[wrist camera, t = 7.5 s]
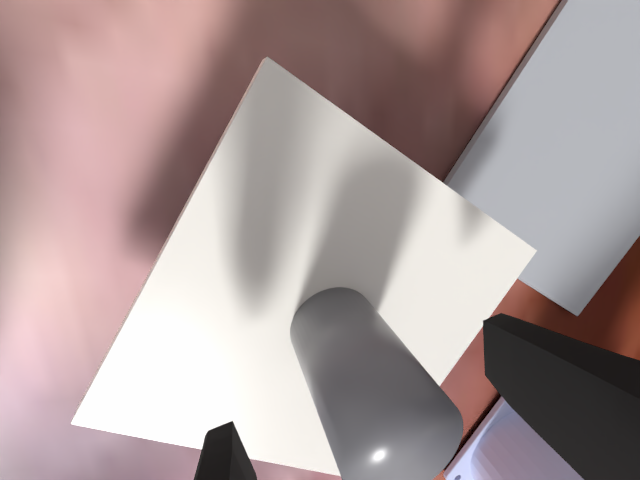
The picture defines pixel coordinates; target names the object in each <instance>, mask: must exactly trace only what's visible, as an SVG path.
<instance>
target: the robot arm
mask: <svg viewBox="0 0 640 480" xmlns="http://www.w3.org/2000/svg"><path fill="white" fill-rule="evenodd" d="M483 335H484V360H485V376H486V377H487V378H488V379H489V381H490V382H491V383H492V385H493V386H494V387H495V388H496V390H497V391H498V392H499V393H500V395H501V397H500V399H499V400H498V401H497V403H496V404H495V405H494V407H493V408H492V409H491V411H490V412H489V413H488V415H487V416H486V417H485V419H484V420H483V421H482V423H481V424H480V425H479V427H478V428H477V429H476V430H475V432H474V433H473V434H472V436H471V437H470V438H469V440H468V441H467V442H466V444H465V445H464V446H463V448H462V449H461V450H460V452H459V453H458V454H457V456H456V457H455V458H454V460H453V461H452V462H451V463H450V465H449V466H448V467H447V469H446V470H445V472H444V477H445V479H446V480H640V361H639V360H636V359H633V358H630V357H626V356H623V355H620V354H617V353H614V352H611V351H608V350H605V349H602V348H599V347H596V346H593V345H590V344H587V343H584V342H581V341H579V340H576V339H573V338H570V337H567V336H564V335H562V334H559V333H556V332H553V331H551V330H548V329H545V328H542V327H540V326H537V325H534V324H531V323H529V322H526V321H523V320H520V319H517V318H514V317H512V316H508V315H505V314H502V313H501V314H498V315H496V316H493V317H491V318H488V319H486V320H483ZM194 480H257V477H256V473H255V471H254V469H253V466H252V464H251V462H250V459H249V457H248V455H247V453H246V450H245V448H244V446H243V443H242V441H241V439H240V436H239V434H238V432H237V430H236V427H235V425H234V423H233V421H231V422H228V423H226V424H223V425H221V426H218V427H216V428H213V429H211V430H208V432H207V433H206V435H205V438H204V443H203V447H202V451H201V455H200V459H199V463H198V466H197V470H196V474H195V477H194Z"/></svg>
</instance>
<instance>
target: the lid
mask: <svg viewBox="0 0 640 480" xmlns="http://www.w3.org/2000/svg"><path fill="white" fill-rule="evenodd" d="M536 252H537V250H535V249H534V248H533V247H531V246H530V245H529V244H527V243H526V242H524V241H523V240H522V239H520V238H519V237H517V236H516V235H515V234H513V233H512V232H510V231H509V230H508V229H506V228H505V227H504V226H502V225H501V224H499V223H498V222H497V221H495V220H494V219H492V218H491V217H490V216H488V215H487V214H485V213H484V212H483V211H481V210H480V209H479V208H477V207H476V206H474V205H473V204H472V203H470V202H469V201H467V200H466V199H465V198H463V197H462V196H460V195H459V194H458V193H456V192H455V191H454V190H452V189H451V188H449V187H448V186H447V185H445V184H444V183H442V182H441V181H440V180H438V179H437V178H435V177H434V176H433V175H431V174H430V173H429V172H427V171H426V170H424V169H423V168H422V167H420V166H419V165H417V164H416V163H415V162H413V161H412V160H410V159H409V158H408V157H406V156H405V155H404V154H402V153H401V152H399V151H398V150H397V149H395V148H394V147H392V146H391V145H390V144H388V143H387V142H385V141H384V140H383V139H381V138H380V137H379V136H377V135H376V134H374V133H373V132H372V131H370V130H369V129H367V128H366V127H365V126H363V125H362V124H360V123H359V122H358V121H356V120H355V119H354V118H352V117H351V116H349V115H348V114H347V113H345V112H344V111H342V110H341V109H340V108H338V107H337V106H335V105H334V104H333V103H331V102H330V101H328V100H327V99H326V98H324V97H323V96H322V95H320V94H319V93H317V92H316V91H315V90H313V89H312V88H310V87H309V86H308V85H306V84H305V83H303V82H302V81H301V80H299V79H298V78H297V77H295V76H294V75H292V74H291V73H290V72H288V71H287V70H285V69H284V68H283V67H281V66H280V65H278V64H277V63H276V62H274V61H273V60H272V59H270V58H269V57H266V58H264V59H263V60H262V62H261V63H260V65H259V67H258V69H257V71H256V73H255V75H254V77H253V78H252V80H251V82H250V84H249V86H248V88H247V90H246V92H245V93H244V95H243V97H242V99H241V101H240V103H239V105H238V107H237V108H236V110H235V112H234V114H233V116H232V118H231V120H230V122H229V123H228V125H227V127H226V129H225V131H224V133H223V135H222V137H221V138H220V140H219V142H218V144H217V146H216V148H215V150H214V151H213V153H212V155H211V157H210V159H209V161H208V163H207V165H206V166H205V168H204V170H203V172H202V174H201V176H200V178H199V180H198V181H197V183H196V185H195V187H194V189H193V191H192V193H191V195H190V196H189V198H188V200H187V202H186V204H185V206H184V208H183V210H182V211H181V213H180V215H179V217H178V219H177V221H176V223H175V225H174V226H173V228H172V230H171V232H170V234H169V236H168V238H167V239H166V241H165V243H164V245H163V247H162V249H161V251H160V253H159V254H158V256H157V258H156V260H155V262H154V264H153V266H152V268H151V269H150V271H149V273H148V275H147V277H146V279H145V281H144V283H143V284H142V286H141V288H140V290H139V292H138V294H137V296H136V298H135V299H134V301H133V303H132V305H131V307H130V309H129V311H128V313H127V314H126V316H125V318H124V320H123V322H122V324H121V326H120V327H119V329H118V331H117V333H116V335H115V337H114V339H113V341H112V342H111V344H110V346H109V348H108V350H107V352H106V354H105V356H104V357H103V359H102V361H101V363H100V365H99V367H98V369H97V371H96V372H95V374H94V376H93V378H92V380H91V382H90V384H89V386H88V387H87V389H86V391H85V393H84V395H83V397H82V399H81V401H80V402H79V404H78V407H77V409H76V412H75V414H74V416H73V419H72V421H71V424H73V425H78V426H83V427H88V428H93V429H99V430H104V431H109V432H114V433H119V434H125V435H130V436H135V437H140V438H145V439H151V440H156V441H161V442H166V443H171V444H177V445H182V446H187V447H192V448H197V449H202V447H203V443H204V438H205V435H206V433H207V432H208V430H211V429H213V428H216V427H218V426H221V425H223V424H226V423H228V422H231V421H233V423H234V425H235V427H236V430H237V432H238V434H239V436H240V439H241V441H242V443H243V446H244V448H245V450H246V453H247V455H248V457H249V458H250V459H255V460H260V461H265V462H270V463H276V464H281V465H286V466H291V467H296V468H302V469H307V470H312V471H317V472H322V473H328V474H333V475H338V476H341V478H342V480H432V479H433V478H435V477H436V476H437V475H438V474H439V473H440V472H441V471H442V470H443V469H444V468H445V467H446V466H447V464H448V463H449V462H450V460H451V459H452V458H453V456H454V454H455V453H456V451H457V449H458V447H459V444H460V442H461V438H462V434H463V420H462V416H461V413H460V412H459V410H458V408H457V407H456V406H455V405H454V403H453V402H452V401H451V400H450V399H449V397H448V396H447V395H446V394H445V393H444V391H443V390H442V389H441V388H440V387H439V386H440V385H441V383H442V382H443V381H444V379H445V378H446V376H447V375H448V374H449V372H450V371H451V369H452V368H453V367H454V365H455V364H456V363H457V361H458V360H459V358H460V357H461V356H462V354H463V353H464V351H465V350H466V349H467V347H468V346H469V345H470V343H471V342H472V340H473V339H474V338H475V336H476V335H477V333H478V332H479V331H480V329H481V328H482V326H483V320H486V319H488V318H489V317H490V315H491V314H492V313H493V311H494V310H495V308H496V307H497V306H498V304H499V303H500V302H501V300H502V299H503V297H504V296H505V295H506V293H507V292H508V290H509V289H510V288H511V286H512V285H513V284H514V282H515V281H516V279H517V278H518V277H519V275H520V274H521V272H522V271H523V270H524V268H525V267H526V265H527V264H528V263H529V261H530V260H531V259H532V257H533V256H534V254H535V253H536Z"/></svg>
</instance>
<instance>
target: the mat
mask: <svg viewBox="0 0 640 480" xmlns="http://www.w3.org/2000/svg"><path fill="white" fill-rule="evenodd" d="M443 183H444V184H445V185H447V186H448V187H449V188H451V189H452V190H454V191H455V192H456V193H458V194H459V195H460V196H462V197H463V198H465V199H466V200H467V201H469V202H470V203H472V204H473V205H474V206H476V207H477V208H479V209H480V210H481V211H483V212H484V213H485V214H487V215H488V216H490V217H491V218H492V219H494V220H495V221H497V222H498V223H499V224H501V225H502V226H504V227H505V228H506V229H508V230H509V231H510V232H512V233H513V234H515V235H516V236H517V237H519V238H520V239H522V240H523V241H524V242H526V243H527V244H529V245H530V246H531V247H533V248H534V249H535V250H537V252H536V253H535V254H534V256H533V257H532V259H531V260H530V261H529V263H528V264H527V265H526V267H525V268H524V270H523V271H522V272H521V274H520V275H519V277H518V278H517V279H519V280H521V281H522V282H524V283H525V284H527V285H528V286H530V287H532V288H533V289H535V290H536V291H538V292H539V293H541V294H543V295H544V296H546V297H547V298H549V299H550V300H552V301H554V302H555V303H557V304H558V305H560V306H561V307H563V308H565V309H566V310H568V311H569V312H571V313H572V314H574V315H576V316H578V315H579V314H580V313H581V311H582V310H583V309H584V308H585V306H586V305H587V304H588V302H589V301H590V300H591V298H592V297H593V296H594V294H595V293H596V292H597V291H598V289H599V288H600V287H601V285H602V284H603V283H604V281H605V280H606V279H607V277H608V276H609V275H610V274H611V272H612V271H613V270H614V268H615V267H616V266H617V264H618V263H619V262H620V260H621V259H622V258H623V257H624V255H625V254H626V253H627V251H628V250H629V249H630V247H631V246H632V245H633V244H634V242H635V241H636V240H637V238H638V237H639V236H640V0H562V1H561V2H560V4H559V5H558V7H557V8H556V10H555V11H554V13H553V15H552V16H551V18H550V19H549V21H548V22H547V24H546V25H545V27H544V28H543V30H542V31H541V33H540V34H539V36H538V38H537V39H536V41H535V42H534V44H533V45H532V47H531V48H530V50H529V51H528V53H527V54H526V56H525V57H524V59H523V61H522V62H521V64H520V65H519V67H518V68H517V70H516V71H515V73H514V74H513V76H512V77H511V79H510V81H509V82H508V84H507V85H506V87H505V88H504V90H503V91H502V93H501V94H500V96H499V97H498V99H497V100H496V102H495V104H494V105H493V107H492V108H491V110H490V111H489V113H488V114H487V116H486V117H485V119H484V120H483V122H482V124H481V125H480V127H479V128H478V130H477V131H476V133H475V134H474V136H473V137H472V139H471V140H470V142H469V143H468V145H467V147H466V148H465V150H464V151H463V153H462V154H461V156H460V157H459V159H458V160H457V162H456V163H455V165H454V166H453V168H452V170H451V171H450V173H449V174H448V176H447V177H446V179H445V180H444V182H443Z"/></svg>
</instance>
